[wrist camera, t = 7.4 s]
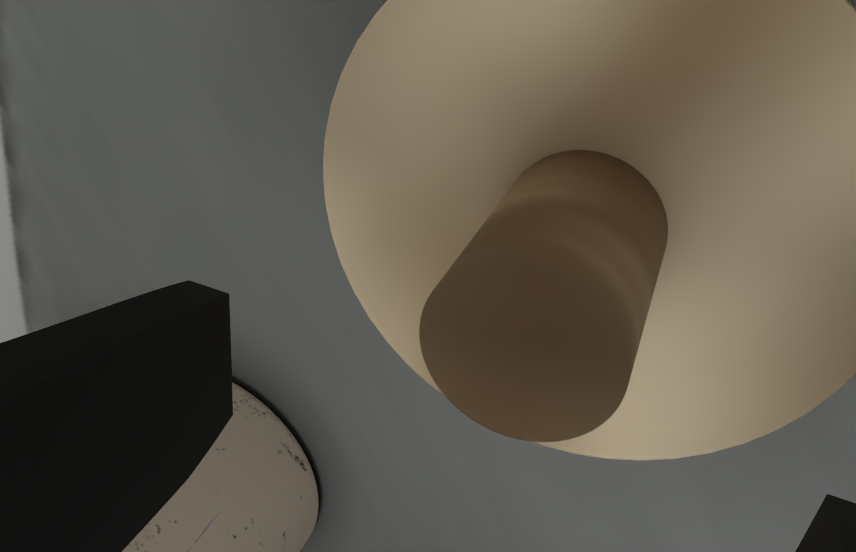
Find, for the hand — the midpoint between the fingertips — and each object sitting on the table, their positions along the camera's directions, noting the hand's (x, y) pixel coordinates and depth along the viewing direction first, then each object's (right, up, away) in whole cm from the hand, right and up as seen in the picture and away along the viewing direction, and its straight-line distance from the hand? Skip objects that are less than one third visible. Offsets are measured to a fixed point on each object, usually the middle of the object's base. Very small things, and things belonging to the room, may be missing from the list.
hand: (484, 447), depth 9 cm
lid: (+2, +3, +5) cm, 6 cm away
